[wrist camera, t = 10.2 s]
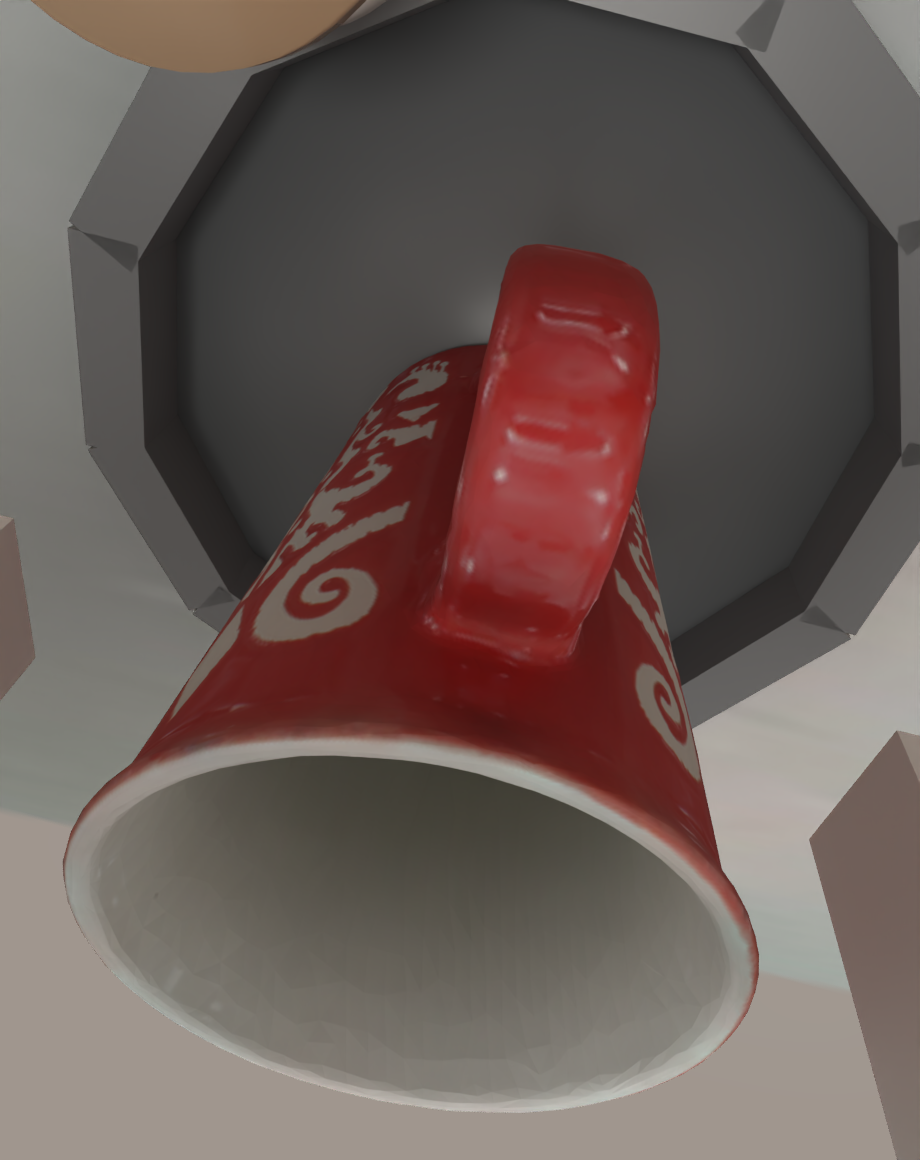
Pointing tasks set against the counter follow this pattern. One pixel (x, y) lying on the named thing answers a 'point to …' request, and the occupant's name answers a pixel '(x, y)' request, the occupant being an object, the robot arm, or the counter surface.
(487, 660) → the mug
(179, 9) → the pot
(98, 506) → the counter surface
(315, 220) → the tray
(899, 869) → the robot arm
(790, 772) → the counter surface
